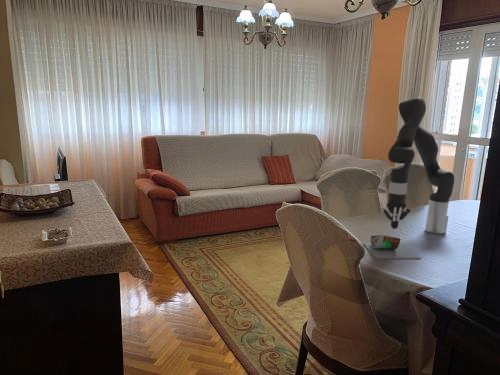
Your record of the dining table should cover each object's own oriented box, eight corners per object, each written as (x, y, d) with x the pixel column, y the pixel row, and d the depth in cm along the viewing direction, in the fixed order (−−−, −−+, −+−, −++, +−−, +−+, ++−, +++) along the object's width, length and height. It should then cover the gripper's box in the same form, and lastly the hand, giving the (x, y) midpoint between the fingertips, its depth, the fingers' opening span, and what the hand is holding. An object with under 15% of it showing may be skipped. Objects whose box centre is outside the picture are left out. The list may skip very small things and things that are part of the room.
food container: (389, 251, 175) (368, 248, 176) (390, 238, 176) (370, 235, 177) (400, 252, 163) (378, 248, 163) (401, 238, 164) (379, 234, 164)
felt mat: (404, 244, 178) (404, 243, 178) (420, 259, 162) (421, 257, 162) (363, 243, 178) (363, 242, 178) (375, 258, 161) (375, 257, 161)
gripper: (408, 189, 169) (404, 225, 173) (379, 189, 169) (376, 225, 173) (416, 193, 162) (412, 230, 166) (386, 193, 161) (383, 231, 165)
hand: (394, 228), depth 169 cm, fingers closed
